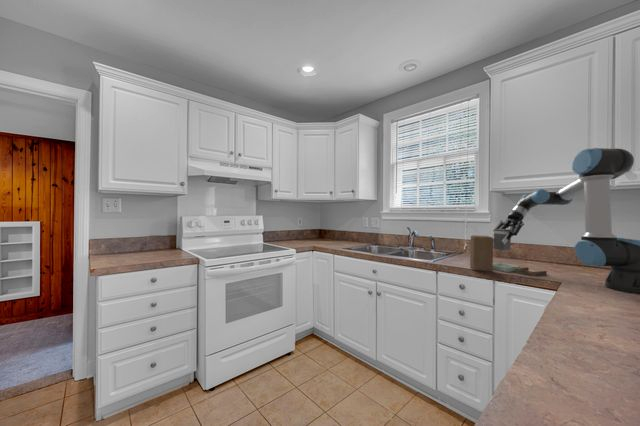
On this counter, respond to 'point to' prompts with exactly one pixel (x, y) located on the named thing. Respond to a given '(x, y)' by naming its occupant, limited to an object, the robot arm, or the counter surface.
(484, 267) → the wooden block
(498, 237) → the caddy
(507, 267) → the tray
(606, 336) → the counter surface
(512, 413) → the counter surface
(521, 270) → the cradle
